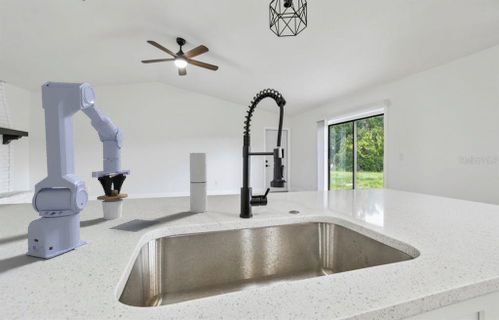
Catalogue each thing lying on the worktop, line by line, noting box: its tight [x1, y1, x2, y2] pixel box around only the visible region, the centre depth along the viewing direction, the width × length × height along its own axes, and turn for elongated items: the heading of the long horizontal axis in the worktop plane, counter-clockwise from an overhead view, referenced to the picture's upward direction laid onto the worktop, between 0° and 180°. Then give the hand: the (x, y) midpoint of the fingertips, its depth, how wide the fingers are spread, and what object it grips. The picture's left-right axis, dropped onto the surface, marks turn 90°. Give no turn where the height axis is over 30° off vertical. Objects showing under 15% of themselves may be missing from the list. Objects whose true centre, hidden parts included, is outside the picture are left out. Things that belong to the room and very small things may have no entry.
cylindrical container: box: [189, 152, 208, 214], centre depth 94 cm, size 7×7×25 cm
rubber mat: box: [109, 218, 161, 233], centre depth 74 cm, size 11×11×1 cm
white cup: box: [101, 198, 124, 221], centre depth 84 cm, size 7×7×7 cm
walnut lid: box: [96, 189, 129, 201], centre depth 84 cm, size 10×10×3 cm
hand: (112, 194), depth 84 cm, fingers closed on walnut lid, 3 cm apart
